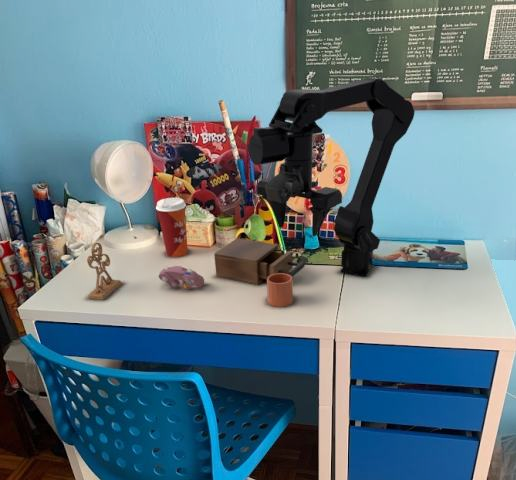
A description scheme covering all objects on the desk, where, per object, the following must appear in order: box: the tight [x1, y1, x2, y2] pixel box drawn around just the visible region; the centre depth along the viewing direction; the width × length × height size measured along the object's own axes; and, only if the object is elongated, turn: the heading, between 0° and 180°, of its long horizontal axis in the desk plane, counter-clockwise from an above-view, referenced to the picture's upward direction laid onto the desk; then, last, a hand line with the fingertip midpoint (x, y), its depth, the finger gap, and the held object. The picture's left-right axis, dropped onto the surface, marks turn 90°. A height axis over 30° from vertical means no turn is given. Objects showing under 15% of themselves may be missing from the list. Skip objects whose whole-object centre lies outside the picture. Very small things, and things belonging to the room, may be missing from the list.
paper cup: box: [155, 197, 188, 258], centre depth 153 cm, size 8×8×14 cm
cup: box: [266, 273, 294, 308], centre depth 128 cm, size 6×6×6 cm
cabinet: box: [213, 237, 279, 285], centre depth 142 cm, size 12×11×6 cm
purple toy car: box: [158, 265, 205, 290], centre depth 137 cm, size 10×5×7 cm, turn 70°
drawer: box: [258, 250, 306, 280], centre depth 139 cm, size 15×9×4 cm, turn 61°
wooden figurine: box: [86, 242, 122, 301], centre depth 136 cm, size 9×4×12 cm, turn 163°
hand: (297, 231), depth 127 cm, fingers open, 9 cm apart
